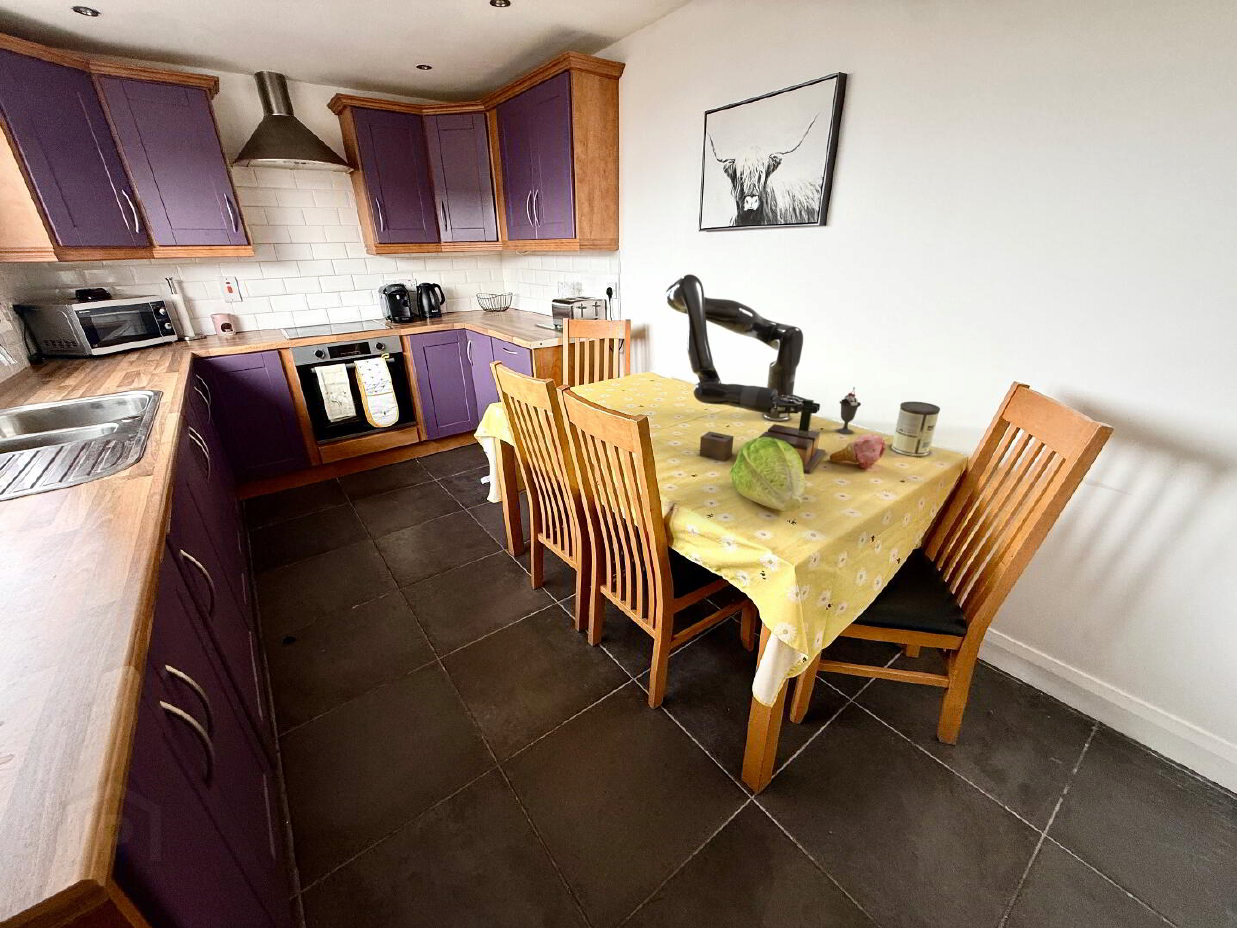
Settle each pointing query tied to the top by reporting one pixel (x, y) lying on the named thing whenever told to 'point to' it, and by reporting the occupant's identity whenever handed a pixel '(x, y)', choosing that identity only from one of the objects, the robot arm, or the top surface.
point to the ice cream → (862, 451)
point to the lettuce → (770, 474)
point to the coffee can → (915, 428)
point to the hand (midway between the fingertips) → (818, 408)
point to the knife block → (716, 445)
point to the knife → (805, 421)
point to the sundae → (848, 411)
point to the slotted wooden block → (798, 444)
